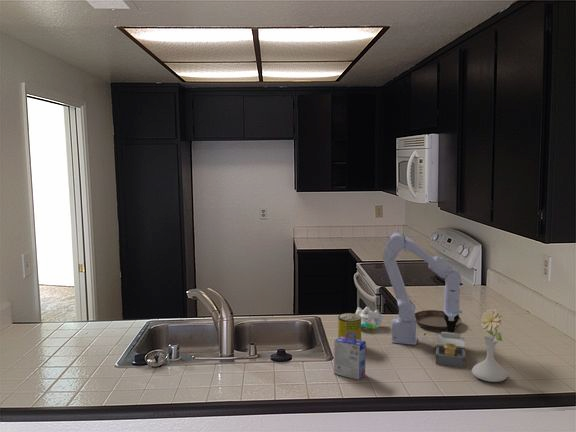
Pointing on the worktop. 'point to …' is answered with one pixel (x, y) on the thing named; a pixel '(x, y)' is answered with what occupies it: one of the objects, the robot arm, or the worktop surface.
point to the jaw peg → (450, 349)
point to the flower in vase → (490, 349)
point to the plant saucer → (433, 320)
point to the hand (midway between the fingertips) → (450, 332)
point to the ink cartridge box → (349, 356)
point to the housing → (450, 357)
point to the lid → (450, 339)
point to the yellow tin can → (349, 325)
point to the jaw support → (369, 317)
